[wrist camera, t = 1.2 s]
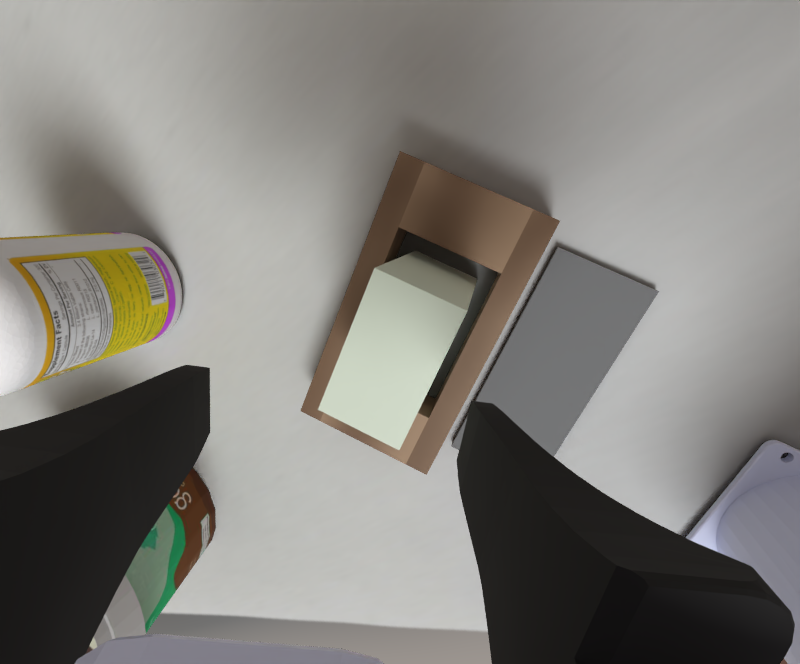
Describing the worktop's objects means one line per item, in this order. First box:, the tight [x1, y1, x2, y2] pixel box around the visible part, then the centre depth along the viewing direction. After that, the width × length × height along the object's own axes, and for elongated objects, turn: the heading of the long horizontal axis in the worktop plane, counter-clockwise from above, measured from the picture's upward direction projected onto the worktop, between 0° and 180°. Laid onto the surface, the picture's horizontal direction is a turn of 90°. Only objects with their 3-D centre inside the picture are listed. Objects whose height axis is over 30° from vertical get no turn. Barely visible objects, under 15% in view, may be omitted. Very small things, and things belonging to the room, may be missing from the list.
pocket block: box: [301, 151, 560, 475], centre depth 22 cm, size 8×14×2 cm, turn 157°
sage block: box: [318, 251, 477, 450], centre depth 19 cm, size 4×6×8 cm, turn 157°
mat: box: [452, 247, 659, 457], centre depth 22 cm, size 5×12×1 cm, turn 157°
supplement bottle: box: [0, 232, 182, 396], centre depth 21 cm, size 7×7×13 cm
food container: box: [86, 468, 216, 654], centre depth 25 cm, size 12×6×10 cm, turn 63°
